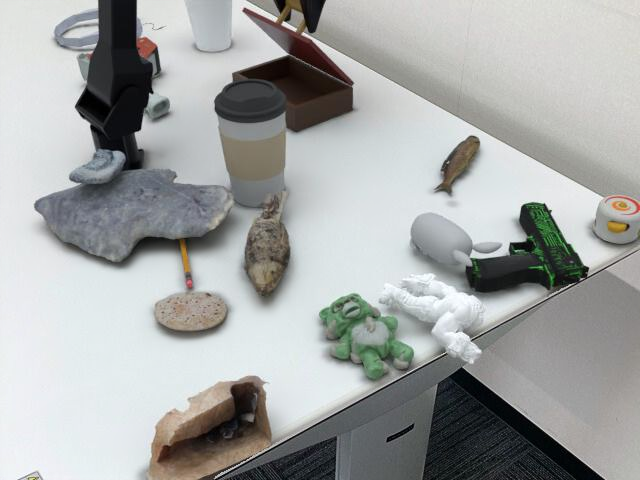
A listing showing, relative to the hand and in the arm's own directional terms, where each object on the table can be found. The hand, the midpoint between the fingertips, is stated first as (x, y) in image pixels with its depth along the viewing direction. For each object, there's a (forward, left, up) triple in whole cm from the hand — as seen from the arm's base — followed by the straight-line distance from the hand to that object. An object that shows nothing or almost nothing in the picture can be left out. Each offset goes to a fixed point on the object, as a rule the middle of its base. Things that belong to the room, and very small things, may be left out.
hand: (299, 26), depth 116 cm
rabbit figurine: (-41, -10, -9) cm, 43 cm away
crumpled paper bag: (-73, +15, -13) cm, 76 cm away
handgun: (-47, -14, -10) cm, 50 cm away
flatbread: (-52, +18, -12) cm, 56 cm away
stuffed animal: (-59, 0, -12) cm, 60 cm away
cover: (0, +1, -3) cm, 3 cm away
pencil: (-38, +19, -12) cm, 44 cm away
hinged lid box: (-1, +2, -12) cm, 12 cm away
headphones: (+30, +33, -12) cm, 46 cm away
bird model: (-42, +10, -6) cm, 43 cm away
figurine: (-55, -3, -10) cm, 56 cm away
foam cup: (+24, +14, -12) cm, 31 cm away
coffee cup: (-28, +9, -12) cm, 31 cm away
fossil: (-33, +26, -4) cm, 42 cm away
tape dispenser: (+6, +28, -12) cm, 31 cm away
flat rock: (-37, +13, -9) cm, 40 cm away
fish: (-27, -22, -10) cm, 36 cm away
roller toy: (-46, -37, -10) cm, 60 cm away
